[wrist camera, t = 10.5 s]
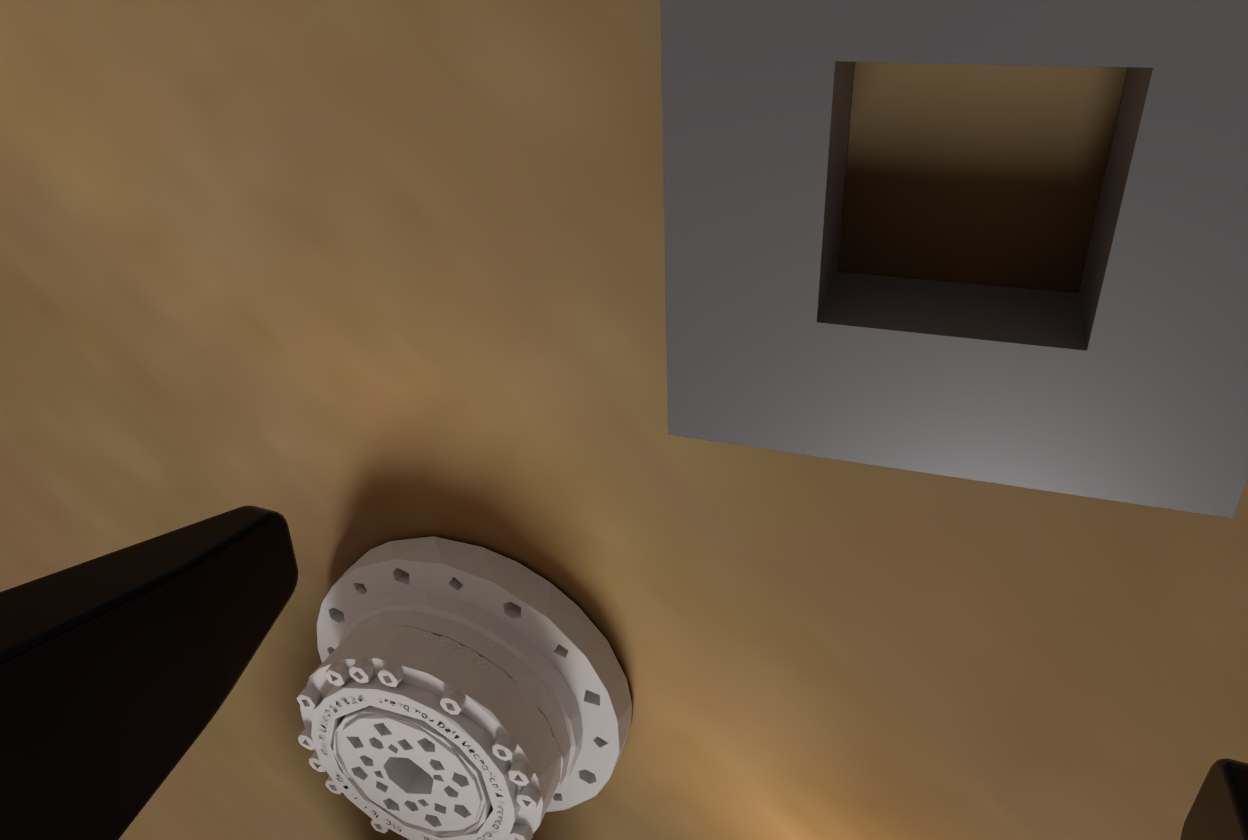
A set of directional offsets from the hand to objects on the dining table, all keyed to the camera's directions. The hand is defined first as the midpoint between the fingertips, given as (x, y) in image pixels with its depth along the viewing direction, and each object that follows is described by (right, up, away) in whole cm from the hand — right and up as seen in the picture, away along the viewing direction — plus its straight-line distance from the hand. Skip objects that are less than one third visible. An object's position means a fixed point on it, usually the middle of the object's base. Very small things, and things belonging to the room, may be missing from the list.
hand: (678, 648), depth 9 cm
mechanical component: (-5, -5, +20) cm, 21 cm away
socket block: (+6, +7, +8) cm, 12 cm away
